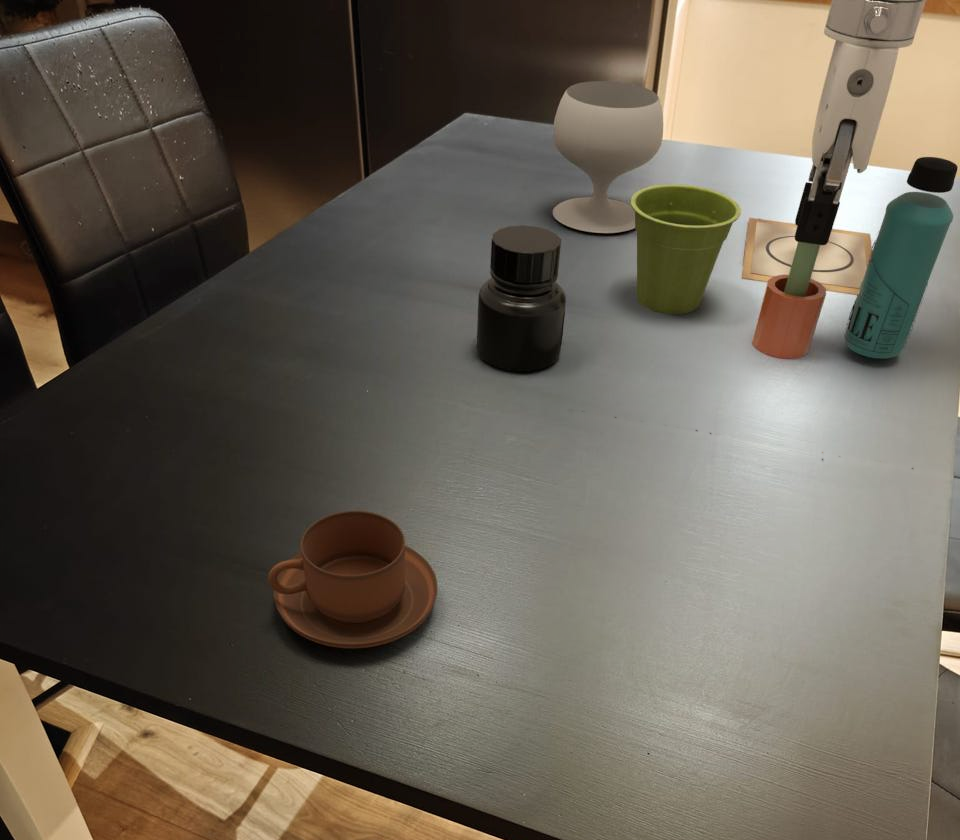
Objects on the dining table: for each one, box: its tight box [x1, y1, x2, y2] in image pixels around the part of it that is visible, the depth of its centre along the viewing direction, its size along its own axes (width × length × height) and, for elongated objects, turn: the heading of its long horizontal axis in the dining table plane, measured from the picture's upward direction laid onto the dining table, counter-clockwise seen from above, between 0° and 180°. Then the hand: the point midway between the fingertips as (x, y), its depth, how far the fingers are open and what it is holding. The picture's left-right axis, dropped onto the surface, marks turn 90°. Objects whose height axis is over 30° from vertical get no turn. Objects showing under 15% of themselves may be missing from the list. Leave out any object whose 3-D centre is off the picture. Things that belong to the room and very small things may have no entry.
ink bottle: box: [476, 224, 567, 372], centre depth 95 cm, size 10×9×12 cm
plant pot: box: [630, 183, 742, 315], centre depth 105 cm, size 12×12×11 cm
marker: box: [784, 242, 820, 297], centre depth 97 cm, size 2×2×12 cm
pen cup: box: [751, 275, 827, 360], centre depth 99 cm, size 6×6×7 cm
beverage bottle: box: [843, 156, 958, 359], centre depth 94 cm, size 6×7×20 cm
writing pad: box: [741, 217, 873, 296], centre depth 119 cm, size 16×20×1 cm
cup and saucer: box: [267, 510, 438, 649], centre depth 68 cm, size 12×12×6 cm
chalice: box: [552, 80, 664, 234], centre depth 121 cm, size 14×14×15 cm
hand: (810, 232), depth 93 cm, fingers open, 3 cm apart
